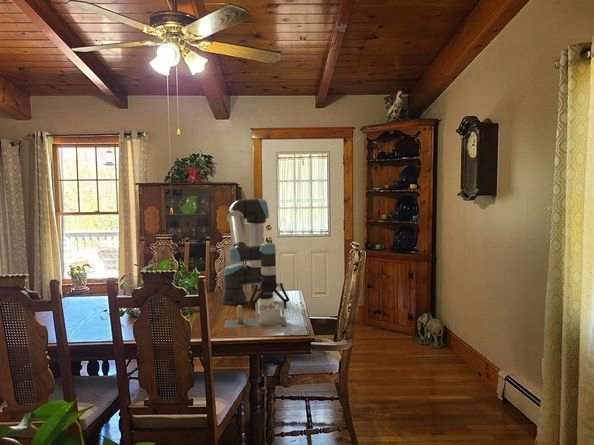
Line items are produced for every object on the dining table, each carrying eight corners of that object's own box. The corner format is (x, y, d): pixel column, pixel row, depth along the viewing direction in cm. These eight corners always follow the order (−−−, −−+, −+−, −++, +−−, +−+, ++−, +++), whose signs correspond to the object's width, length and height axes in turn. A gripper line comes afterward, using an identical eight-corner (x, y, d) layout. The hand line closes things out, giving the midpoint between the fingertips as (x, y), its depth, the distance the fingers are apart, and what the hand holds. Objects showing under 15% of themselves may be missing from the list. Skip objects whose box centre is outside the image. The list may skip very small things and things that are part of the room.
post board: (224, 329, 204) (223, 309, 204) (225, 321, 218) (225, 302, 218) (286, 326, 208) (285, 306, 207) (283, 318, 222) (283, 299, 221)
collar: (280, 323, 209) (280, 308, 209) (260, 324, 208) (259, 310, 208) (279, 317, 219) (278, 304, 219) (259, 318, 218) (259, 305, 218)
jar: (276, 315, 229) (275, 293, 228) (262, 317, 225) (261, 295, 225) (269, 311, 237) (269, 290, 236) (256, 313, 233) (255, 292, 233)
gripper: (243, 276, 208) (244, 319, 209) (294, 274, 210) (295, 316, 211) (243, 274, 215) (245, 315, 216) (292, 271, 218) (293, 312, 219)
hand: (269, 316), depth 214 cm, fingers open, 13 cm apart
